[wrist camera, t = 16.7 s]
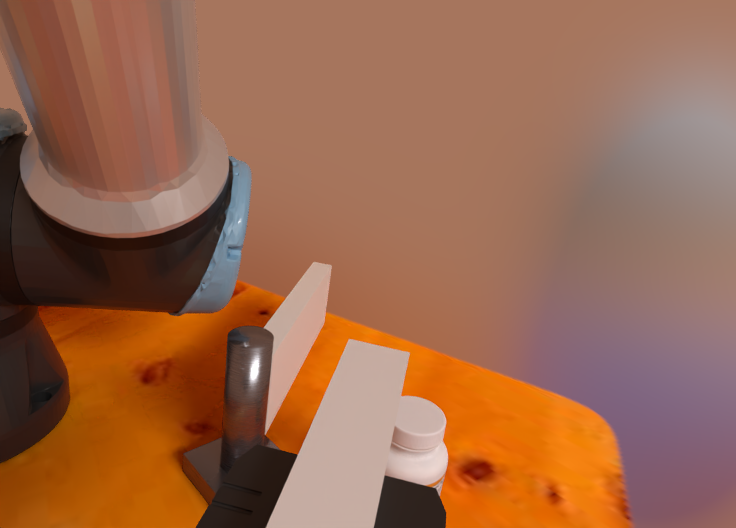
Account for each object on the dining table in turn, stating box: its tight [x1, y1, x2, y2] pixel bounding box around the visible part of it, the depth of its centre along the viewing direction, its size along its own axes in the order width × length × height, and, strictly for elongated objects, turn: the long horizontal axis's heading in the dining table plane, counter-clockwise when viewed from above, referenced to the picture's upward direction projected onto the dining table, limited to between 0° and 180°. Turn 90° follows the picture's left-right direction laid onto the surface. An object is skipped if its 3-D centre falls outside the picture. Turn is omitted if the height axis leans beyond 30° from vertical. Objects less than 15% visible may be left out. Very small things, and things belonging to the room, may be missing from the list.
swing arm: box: [264, 262, 332, 435], centre depth 48 cm, size 20×2×7 cm, turn 169°
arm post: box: [183, 326, 280, 505], centre depth 37 cm, size 6×6×12 cm
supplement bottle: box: [385, 396, 448, 496], centre depth 35 cm, size 5×5×10 cm
